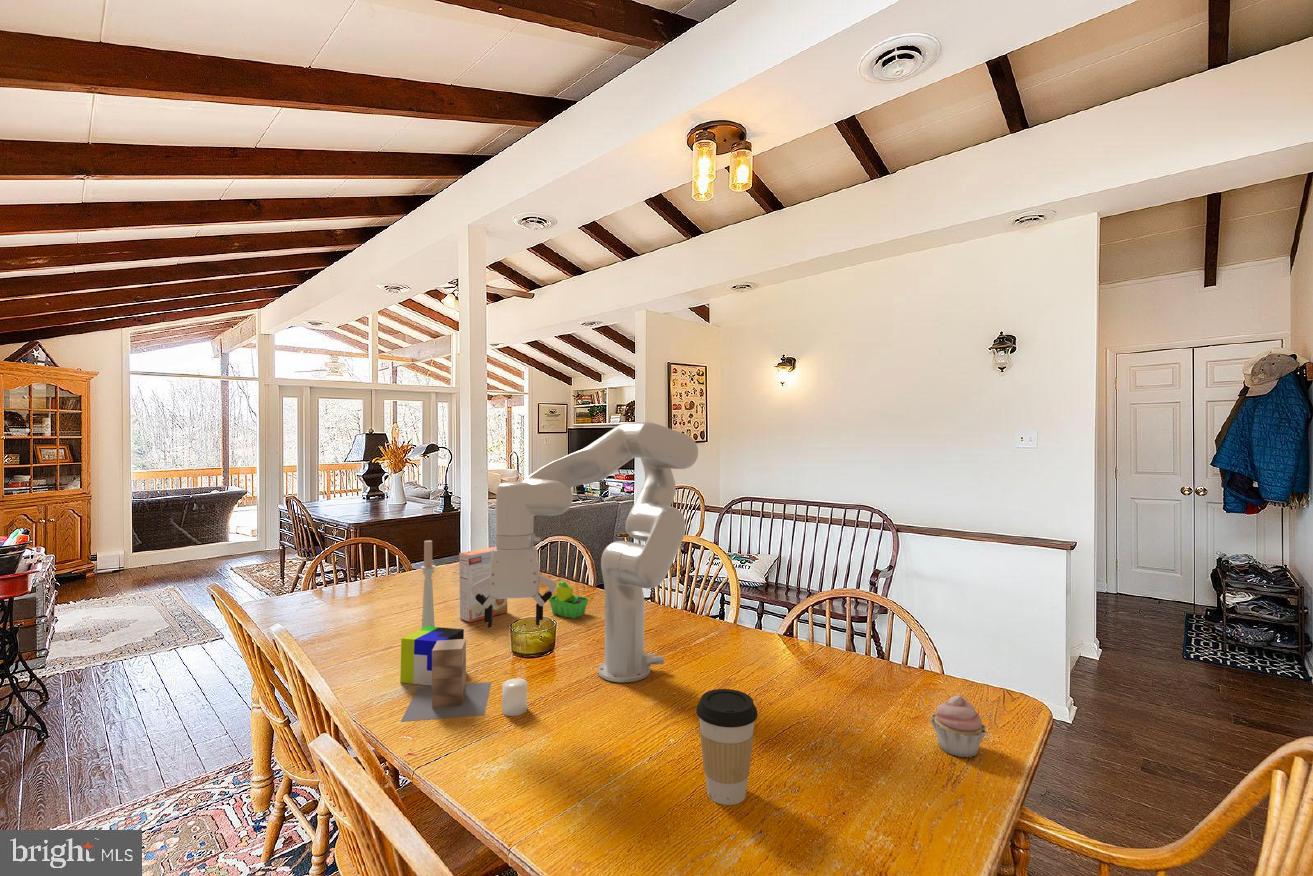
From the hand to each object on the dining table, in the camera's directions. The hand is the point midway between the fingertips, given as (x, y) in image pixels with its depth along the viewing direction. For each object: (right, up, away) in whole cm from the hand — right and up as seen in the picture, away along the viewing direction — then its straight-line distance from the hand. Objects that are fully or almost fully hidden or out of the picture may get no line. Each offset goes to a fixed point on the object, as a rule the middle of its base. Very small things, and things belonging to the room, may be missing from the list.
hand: (514, 624), depth 121 cm
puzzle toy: (-23, -18, +17) cm, 34 cm away
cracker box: (-25, -18, +64) cm, 71 cm away
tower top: (-15, -12, +4) cm, 19 cm away
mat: (-15, -18, +4) cm, 24 cm away
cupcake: (+85, -19, -13) cm, 88 cm away
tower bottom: (-15, -18, +4) cm, 24 cm away
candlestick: (-30, -18, +32) cm, 48 cm away
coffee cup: (+41, -19, -27) cm, 52 cm away
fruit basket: (+1, -18, +65) cm, 68 cm away
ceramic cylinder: (0, -18, 0) cm, 18 cm away
